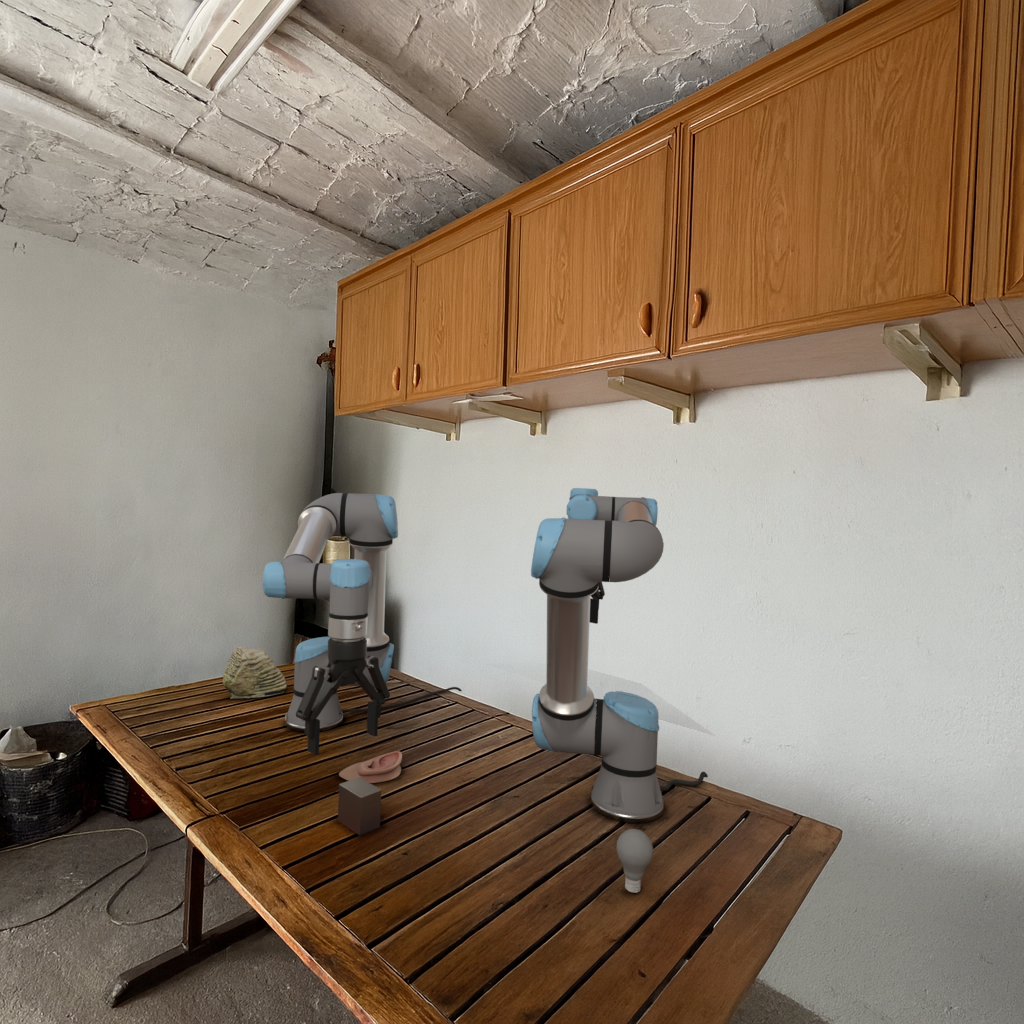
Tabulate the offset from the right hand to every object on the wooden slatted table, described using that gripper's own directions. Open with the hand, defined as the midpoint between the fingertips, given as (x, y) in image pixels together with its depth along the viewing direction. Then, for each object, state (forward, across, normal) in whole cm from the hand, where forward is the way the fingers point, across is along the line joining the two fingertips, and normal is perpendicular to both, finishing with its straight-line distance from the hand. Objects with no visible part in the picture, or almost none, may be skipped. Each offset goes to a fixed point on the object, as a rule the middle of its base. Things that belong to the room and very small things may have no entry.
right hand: (578, 625), depth 169 cm
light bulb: (+32, -44, -46) cm, 71 cm away
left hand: (+17, -66, +8) cm, 68 cm away
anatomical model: (+32, -51, +20) cm, 63 cm away
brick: (+32, -65, +3) cm, 72 cm away
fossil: (+32, -44, +91) cm, 106 cm away
